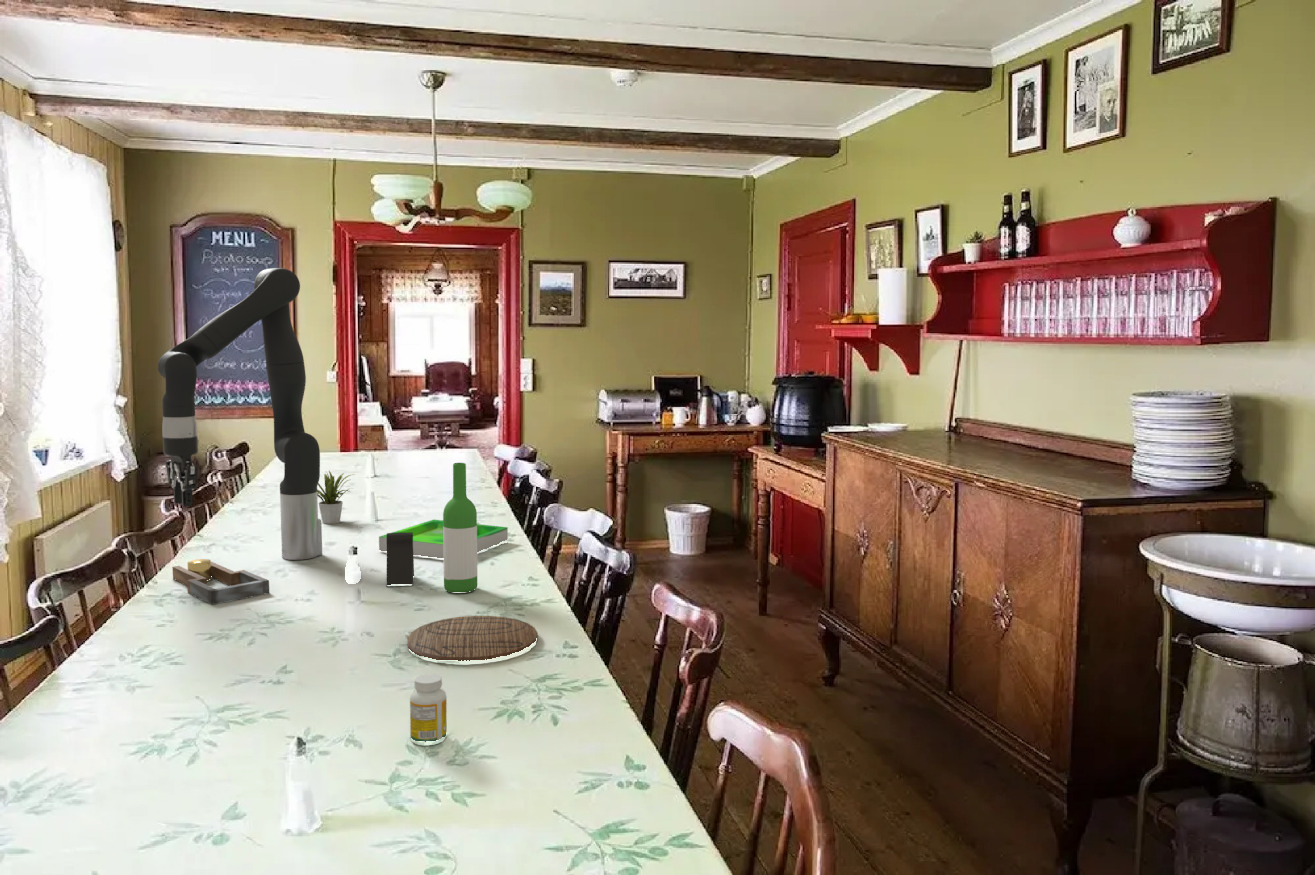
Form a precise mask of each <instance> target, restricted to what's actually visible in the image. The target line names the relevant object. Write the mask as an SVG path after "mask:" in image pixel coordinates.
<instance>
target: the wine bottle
mask: <svg viewBox="0 0 1315 875" xmlns="http://www.w3.org/2000/svg"><path fill="white" fill-rule="evenodd" d="M452 477H453V478H452V490H453V491H452V498H451V499H450V500H449V501H447V502H446V504H445V506H444V508H443V512H442V517H443V518H442V520H443V556H444V561H443V588H444V590H445V591H446V590H447V591H449V592H469V591H472V590H474V589H475V590H477V588H478V555H477V524H478V520H477V519H478V518H477V517H478V515H477V514H478V512H477V509H476V506H475V504H474V503H473V501H471V499H469V498H468V497H467V464H466V463H465V462H454V463H453V464H452ZM475 590H474V591H475ZM447 591H446V592H447ZM449 592H448V593H449ZM472 592H473V591H472Z"/></svg>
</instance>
